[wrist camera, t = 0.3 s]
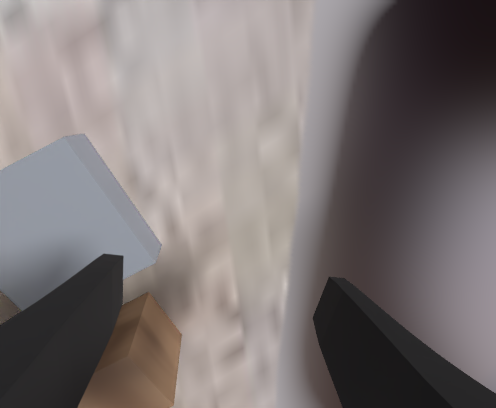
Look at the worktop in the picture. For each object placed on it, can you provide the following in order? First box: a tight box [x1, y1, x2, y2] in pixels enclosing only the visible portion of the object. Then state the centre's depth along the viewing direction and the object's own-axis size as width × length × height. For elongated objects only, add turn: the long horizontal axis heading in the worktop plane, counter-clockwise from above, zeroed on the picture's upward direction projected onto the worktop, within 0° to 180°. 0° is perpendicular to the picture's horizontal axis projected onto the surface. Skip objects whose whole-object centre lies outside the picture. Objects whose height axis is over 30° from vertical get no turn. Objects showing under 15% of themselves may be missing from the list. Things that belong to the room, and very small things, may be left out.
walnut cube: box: [77, 292, 182, 408], centre depth 19 cm, size 5×5×6 cm
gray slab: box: [0, 134, 162, 311], centre depth 18 cm, size 9×9×3 cm
